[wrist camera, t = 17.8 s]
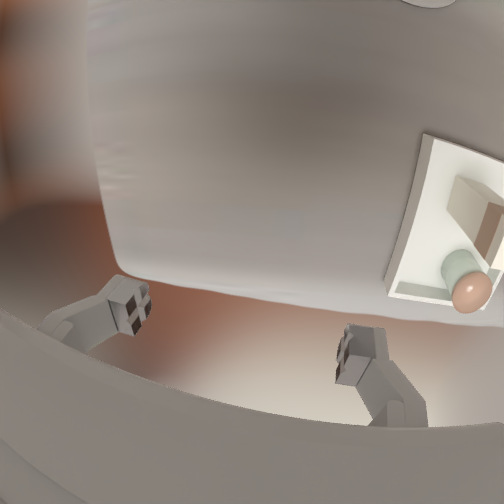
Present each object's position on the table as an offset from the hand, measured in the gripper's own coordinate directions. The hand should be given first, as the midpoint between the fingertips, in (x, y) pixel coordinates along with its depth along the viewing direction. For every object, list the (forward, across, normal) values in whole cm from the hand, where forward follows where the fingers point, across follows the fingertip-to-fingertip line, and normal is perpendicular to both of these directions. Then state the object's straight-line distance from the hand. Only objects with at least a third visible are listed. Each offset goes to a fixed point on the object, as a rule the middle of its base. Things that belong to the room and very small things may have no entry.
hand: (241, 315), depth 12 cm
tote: (+29, -24, +5) cm, 38 cm away
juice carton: (+28, -23, +1) cm, 36 cm away
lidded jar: (+28, -26, +11) cm, 40 cm away
